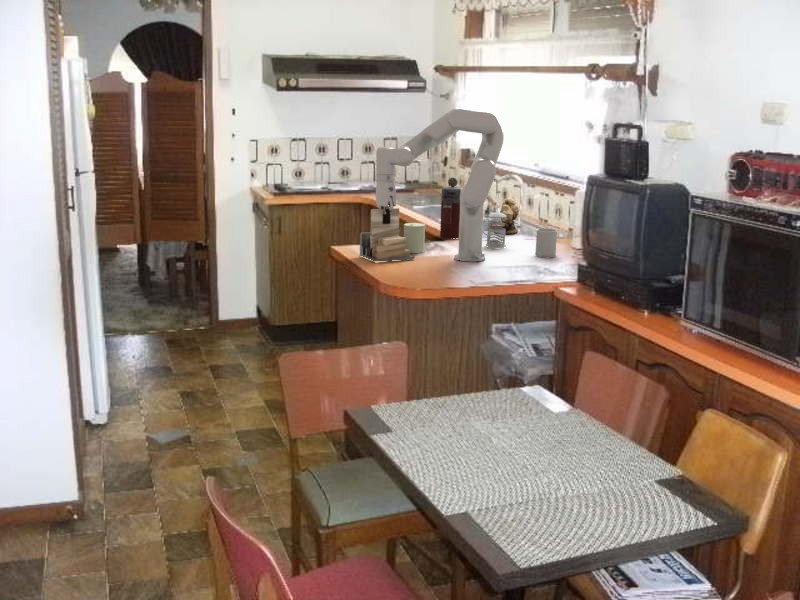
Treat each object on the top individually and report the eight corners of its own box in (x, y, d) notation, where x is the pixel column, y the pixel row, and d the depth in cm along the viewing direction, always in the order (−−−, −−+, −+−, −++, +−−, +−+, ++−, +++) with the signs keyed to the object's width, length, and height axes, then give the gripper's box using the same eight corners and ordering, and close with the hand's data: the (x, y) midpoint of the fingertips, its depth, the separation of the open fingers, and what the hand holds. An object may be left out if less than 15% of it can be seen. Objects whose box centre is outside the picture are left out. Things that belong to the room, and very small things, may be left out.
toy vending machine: (439, 238, 413) (441, 178, 407) (443, 235, 424) (445, 175, 417) (458, 240, 411) (460, 179, 405) (461, 236, 422) (464, 176, 415)
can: (399, 251, 380) (399, 223, 378) (409, 248, 388) (409, 221, 386) (418, 254, 376) (419, 225, 373) (428, 250, 384) (429, 223, 381)
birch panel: (398, 251, 369) (399, 208, 365) (372, 253, 364) (372, 209, 360) (396, 251, 371) (397, 207, 367) (370, 253, 366) (370, 209, 361)
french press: (507, 248, 393) (510, 192, 387) (481, 248, 393) (484, 191, 387) (505, 244, 402) (508, 189, 396) (480, 244, 403) (482, 188, 397)
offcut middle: (405, 250, 362) (405, 244, 361) (378, 252, 356) (378, 246, 356) (398, 248, 367) (399, 242, 366) (372, 250, 361) (372, 243, 361)
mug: (553, 258, 374) (555, 232, 371) (533, 256, 377) (534, 230, 374) (558, 253, 385) (560, 228, 382) (539, 251, 388) (540, 226, 385)
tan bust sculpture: (492, 228, 446) (494, 194, 442) (516, 230, 445) (518, 195, 441) (493, 234, 428) (495, 199, 424) (518, 235, 428) (520, 200, 424)
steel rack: (414, 260, 364) (415, 235, 361) (375, 263, 355) (375, 238, 353) (398, 253, 376) (399, 230, 373) (359, 256, 367) (360, 232, 365)
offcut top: (405, 244, 362) (405, 237, 362) (385, 246, 356) (385, 240, 356) (398, 242, 366) (398, 236, 365) (378, 244, 360) (378, 238, 360)
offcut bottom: (409, 256, 363) (409, 250, 362) (378, 258, 357) (378, 252, 356) (402, 253, 368) (402, 247, 368) (372, 256, 362) (372, 250, 361)
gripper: (402, 179, 355) (402, 225, 360) (384, 175, 369) (384, 220, 373) (386, 180, 352) (385, 226, 356) (368, 176, 365) (368, 221, 370)
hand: (385, 223), depth 365 cm, fingers closed on birch panel, 2 cm apart
